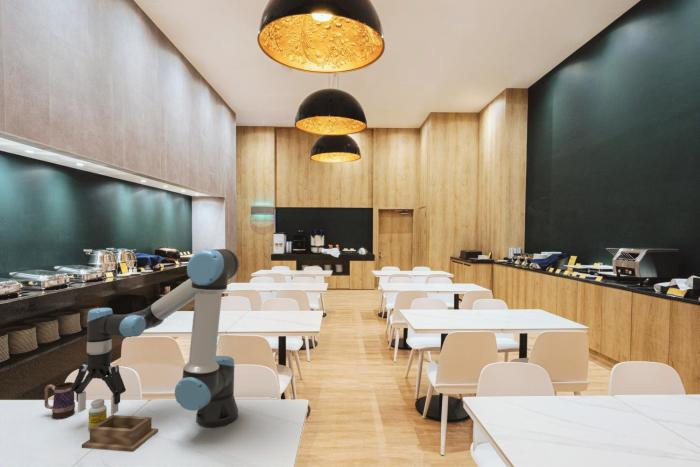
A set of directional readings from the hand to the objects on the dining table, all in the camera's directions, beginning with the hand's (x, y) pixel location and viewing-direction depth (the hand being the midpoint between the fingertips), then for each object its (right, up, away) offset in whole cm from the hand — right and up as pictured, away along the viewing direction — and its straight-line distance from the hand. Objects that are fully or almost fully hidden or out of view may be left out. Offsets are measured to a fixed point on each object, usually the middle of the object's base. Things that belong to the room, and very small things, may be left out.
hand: (98, 412), depth 136 cm
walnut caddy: (+13, -6, -8) cm, 16 cm away
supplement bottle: (0, -6, 0) cm, 6 cm away
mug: (-21, -6, +9) cm, 24 cm away
